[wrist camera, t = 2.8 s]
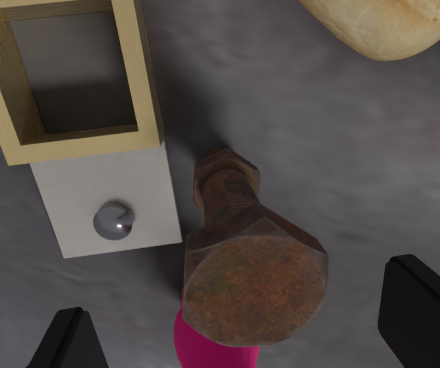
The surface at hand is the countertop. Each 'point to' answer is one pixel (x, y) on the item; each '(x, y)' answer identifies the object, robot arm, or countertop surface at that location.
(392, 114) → the countertop surface
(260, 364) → the countertop surface
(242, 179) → the bolt
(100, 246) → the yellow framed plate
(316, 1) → the bread roll
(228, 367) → the pepper mill
